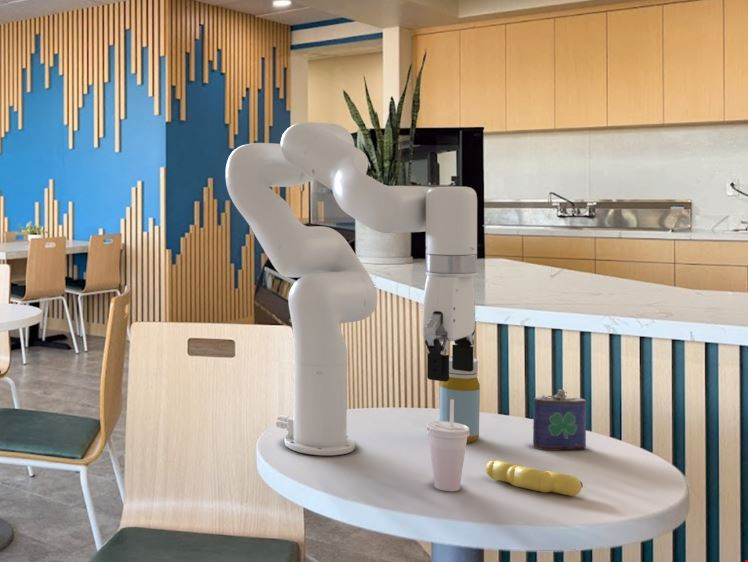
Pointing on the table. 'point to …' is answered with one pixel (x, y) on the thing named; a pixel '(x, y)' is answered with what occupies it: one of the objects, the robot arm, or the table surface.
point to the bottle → (462, 399)
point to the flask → (559, 422)
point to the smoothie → (447, 451)
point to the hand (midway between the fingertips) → (450, 375)
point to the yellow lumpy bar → (534, 478)
